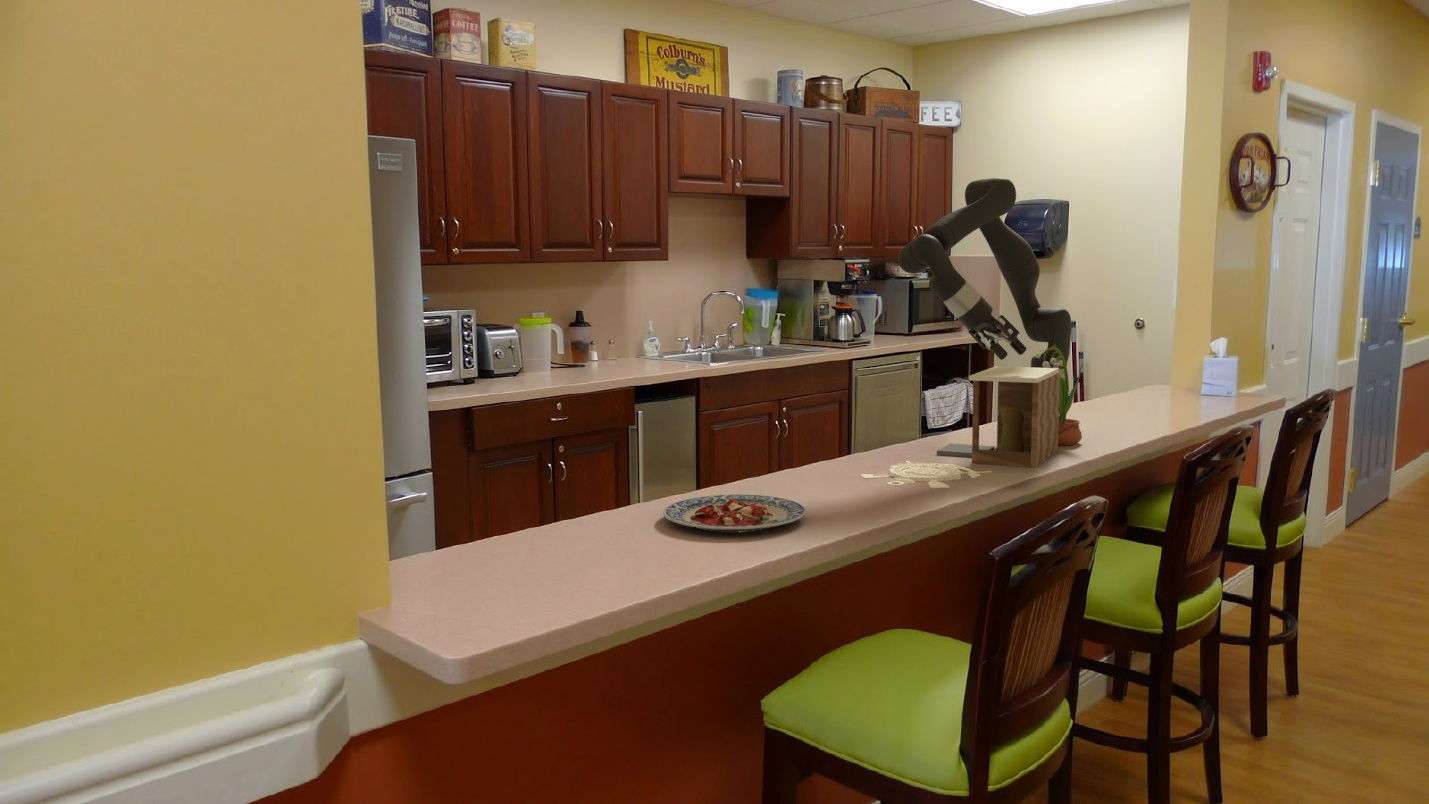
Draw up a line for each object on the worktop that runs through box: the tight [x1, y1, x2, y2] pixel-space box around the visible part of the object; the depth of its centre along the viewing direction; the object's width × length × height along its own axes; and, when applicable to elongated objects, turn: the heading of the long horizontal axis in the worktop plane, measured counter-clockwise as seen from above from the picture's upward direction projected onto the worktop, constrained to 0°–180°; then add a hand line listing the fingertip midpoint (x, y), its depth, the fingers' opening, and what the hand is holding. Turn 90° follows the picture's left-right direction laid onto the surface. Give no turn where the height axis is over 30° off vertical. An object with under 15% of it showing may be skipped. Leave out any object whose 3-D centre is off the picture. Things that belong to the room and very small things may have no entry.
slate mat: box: [936, 443, 995, 458], centre depth 247 cm, size 11×11×1 cm
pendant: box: [860, 460, 992, 489], centre depth 223 cm, size 21×28×1 cm
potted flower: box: [1033, 345, 1084, 446], centre depth 257 cm, size 12×10×25 cm
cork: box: [998, 410, 1026, 453], centre depth 241 cm, size 6×6×11 cm
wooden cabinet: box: [968, 365, 1060, 468], centre depth 241 cm, size 24×15×20 cm, turn 151°
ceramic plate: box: [662, 493, 806, 533], centre depth 185 cm, size 26×26×3 cm
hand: (1014, 354), depth 239 cm, fingers open, 8 cm apart
